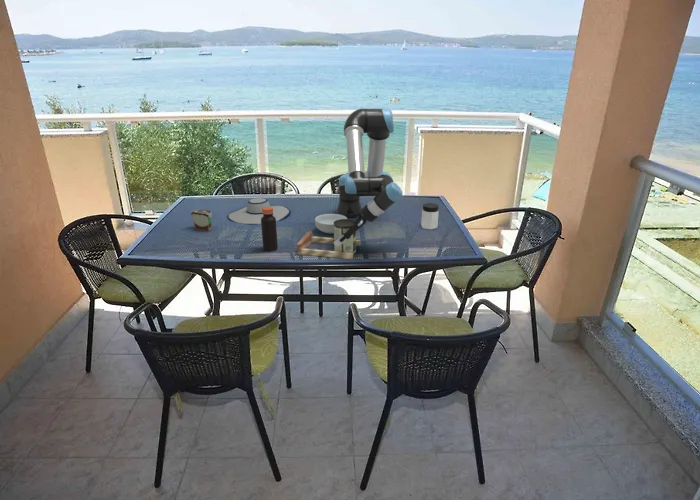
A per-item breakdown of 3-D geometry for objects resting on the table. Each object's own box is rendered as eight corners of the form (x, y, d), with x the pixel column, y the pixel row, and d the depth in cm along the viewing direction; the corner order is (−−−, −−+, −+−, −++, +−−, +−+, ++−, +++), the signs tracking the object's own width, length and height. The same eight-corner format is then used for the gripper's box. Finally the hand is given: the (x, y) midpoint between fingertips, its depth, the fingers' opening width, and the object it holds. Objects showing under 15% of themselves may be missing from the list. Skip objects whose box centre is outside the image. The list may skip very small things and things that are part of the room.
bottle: (265, 245, 216) (262, 205, 208) (279, 246, 215) (276, 206, 207) (261, 251, 210) (258, 210, 202) (275, 251, 209) (272, 210, 201)
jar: (428, 230, 234) (429, 208, 230) (417, 226, 241) (419, 204, 236) (440, 227, 239) (442, 205, 234) (430, 223, 245) (431, 201, 240)
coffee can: (345, 245, 216) (344, 217, 211) (360, 250, 210) (360, 222, 204) (329, 251, 210) (328, 222, 204) (344, 257, 203) (344, 228, 198)
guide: (297, 254, 206) (297, 244, 204) (308, 240, 221) (308, 231, 220) (352, 259, 201) (352, 248, 199) (360, 245, 216) (360, 235, 214)
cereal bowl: (335, 239, 223) (335, 226, 220) (308, 233, 231) (308, 220, 228) (353, 229, 236) (353, 216, 234) (327, 223, 244) (327, 211, 242)
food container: (219, 228, 238) (216, 210, 234) (211, 232, 233) (208, 214, 229) (201, 225, 243) (198, 207, 239) (192, 228, 237) (190, 210, 233)
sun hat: (293, 205, 277) (292, 191, 274) (287, 225, 244) (286, 209, 240) (234, 205, 276) (233, 191, 273) (220, 226, 243) (218, 210, 240)
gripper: (374, 224, 189) (338, 255, 199) (382, 208, 210) (349, 237, 219) (361, 212, 188) (326, 243, 198) (371, 197, 209) (338, 226, 218)
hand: (338, 240), depth 208 cm, fingers closed on coffee can, 10 cm apart
